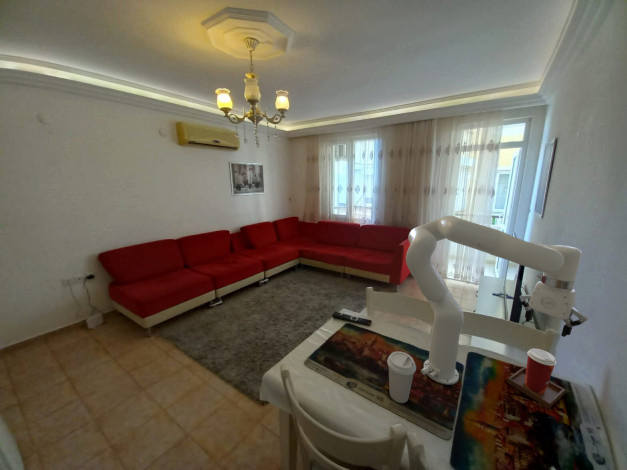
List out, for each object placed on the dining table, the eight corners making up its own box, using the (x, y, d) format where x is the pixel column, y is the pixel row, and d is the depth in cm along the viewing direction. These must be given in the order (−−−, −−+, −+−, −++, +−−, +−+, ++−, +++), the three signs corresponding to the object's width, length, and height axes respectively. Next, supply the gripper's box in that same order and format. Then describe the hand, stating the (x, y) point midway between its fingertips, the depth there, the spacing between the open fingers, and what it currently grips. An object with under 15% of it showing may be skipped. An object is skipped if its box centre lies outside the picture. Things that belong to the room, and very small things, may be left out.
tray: (548, 408, 80) (550, 403, 79) (506, 382, 91) (507, 378, 90) (564, 394, 85) (565, 389, 85) (522, 371, 96) (523, 366, 95)
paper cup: (555, 397, 83) (563, 363, 80) (529, 394, 85) (537, 360, 82) (539, 380, 91) (546, 348, 88) (516, 377, 92) (522, 345, 89)
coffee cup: (399, 411, 79) (402, 373, 76) (379, 390, 88) (381, 355, 84) (419, 399, 84) (422, 363, 80) (398, 380, 92) (400, 346, 89)
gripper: (520, 275, 85) (510, 317, 89) (590, 295, 70) (576, 345, 74) (530, 271, 88) (521, 313, 92) (599, 290, 73) (585, 338, 77)
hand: (545, 327), depth 83 cm, fingers open, 9 cm apart
